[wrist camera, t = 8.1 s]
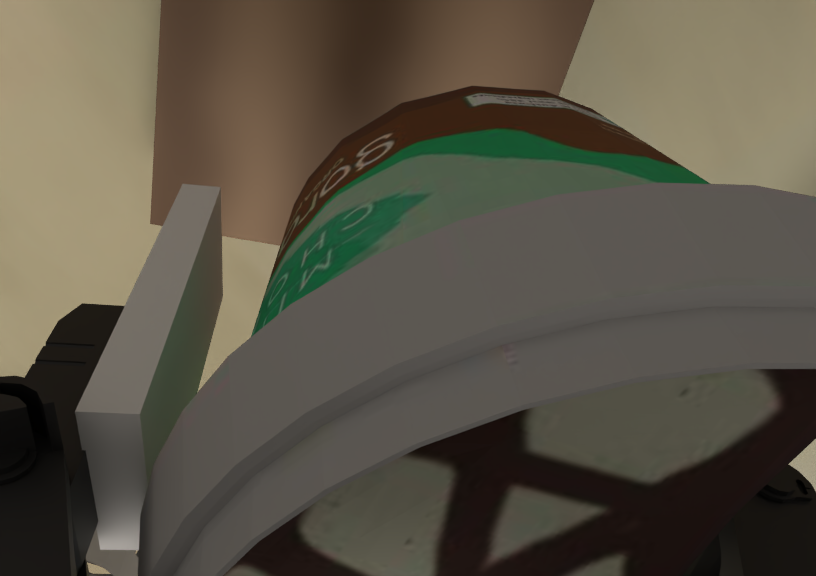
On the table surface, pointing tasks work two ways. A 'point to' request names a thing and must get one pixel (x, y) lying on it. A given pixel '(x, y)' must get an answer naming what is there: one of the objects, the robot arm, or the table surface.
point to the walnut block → (324, 84)
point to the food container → (498, 360)
